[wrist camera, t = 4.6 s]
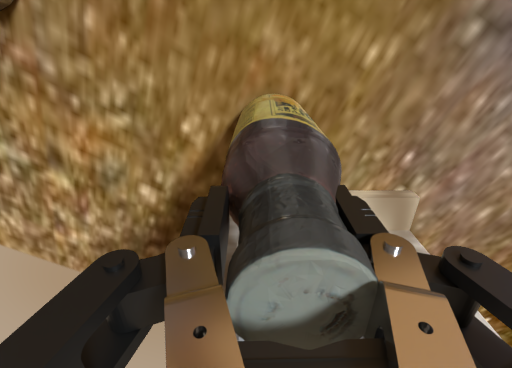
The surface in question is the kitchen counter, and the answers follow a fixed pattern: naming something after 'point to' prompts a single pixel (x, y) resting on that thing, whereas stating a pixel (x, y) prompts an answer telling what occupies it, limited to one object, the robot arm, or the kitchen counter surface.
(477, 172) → the kitchen counter surface
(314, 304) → the sauce bottle
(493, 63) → the kitchen counter surface
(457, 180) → the kitchen counter surface
